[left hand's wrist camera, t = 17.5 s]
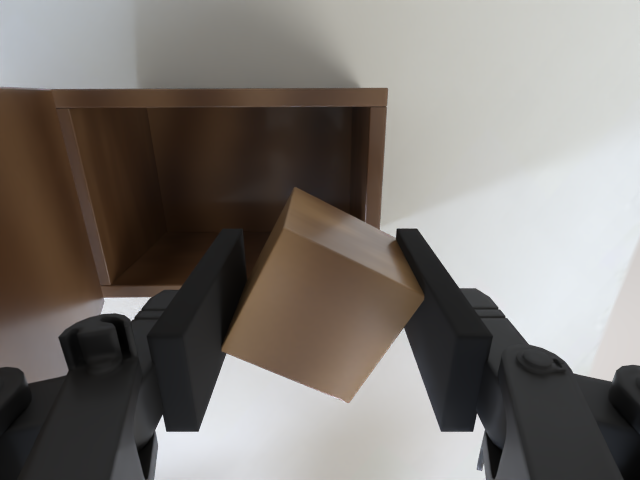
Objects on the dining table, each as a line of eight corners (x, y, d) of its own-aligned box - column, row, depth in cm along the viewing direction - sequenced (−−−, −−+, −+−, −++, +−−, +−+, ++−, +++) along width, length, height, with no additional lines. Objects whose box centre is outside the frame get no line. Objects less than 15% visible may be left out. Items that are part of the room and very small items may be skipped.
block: (396, 238, 14) (427, 296, 10) (341, 323, 16) (349, 404, 12) (294, 185, 13) (283, 226, 9) (246, 280, 15) (218, 351, 11)
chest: (363, 89, 27) (388, 87, 18) (357, 236, 32) (376, 295, 22) (137, 90, 27) (46, 89, 18) (162, 238, 31) (99, 298, 22)
